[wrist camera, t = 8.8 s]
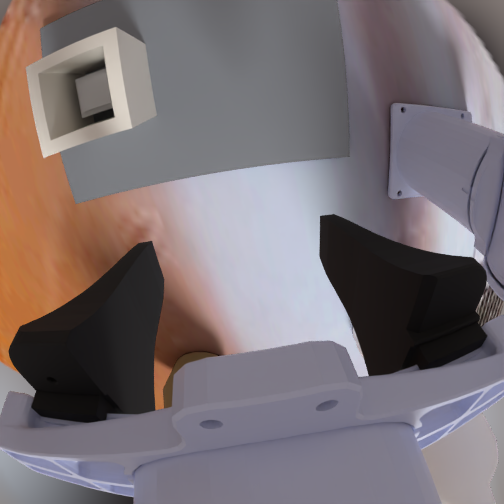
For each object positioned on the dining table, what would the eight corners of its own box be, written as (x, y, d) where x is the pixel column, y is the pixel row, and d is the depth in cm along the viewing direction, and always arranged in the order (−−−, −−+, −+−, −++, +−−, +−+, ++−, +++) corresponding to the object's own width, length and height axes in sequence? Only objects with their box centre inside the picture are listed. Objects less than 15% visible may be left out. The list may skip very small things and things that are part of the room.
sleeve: (145, 44, 14) (115, 26, 8) (156, 115, 16) (132, 128, 11) (75, 68, 13) (25, 67, 8) (87, 135, 16) (43, 157, 11)
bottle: (408, 327, 32) (507, 525, 7) (353, 351, 33) (435, 569, 8) (412, 282, 28) (547, 517, 3) (348, 308, 29) (460, 582, 3)
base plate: (326, -23, 13) (353, -43, 9) (343, 153, 20) (372, 171, 16) (46, 30, 12) (13, 23, 8) (80, 198, 19) (55, 225, 15)
